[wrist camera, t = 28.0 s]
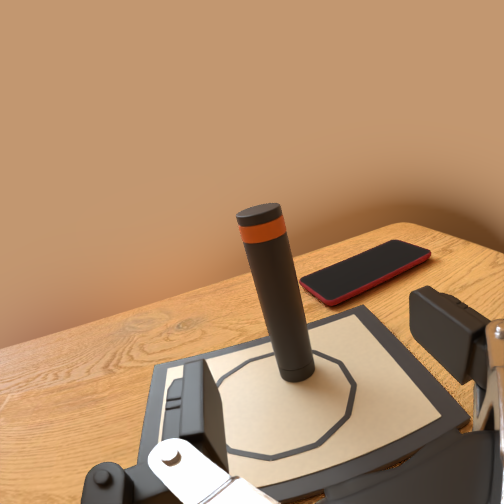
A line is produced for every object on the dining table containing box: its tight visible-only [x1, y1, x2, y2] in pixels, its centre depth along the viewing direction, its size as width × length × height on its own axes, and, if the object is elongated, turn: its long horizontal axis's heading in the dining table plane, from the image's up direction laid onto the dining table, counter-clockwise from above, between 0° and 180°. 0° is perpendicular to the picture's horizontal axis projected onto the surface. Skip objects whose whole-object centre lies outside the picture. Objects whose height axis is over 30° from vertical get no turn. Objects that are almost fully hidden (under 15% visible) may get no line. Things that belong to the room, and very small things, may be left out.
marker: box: [236, 203, 315, 383], centre depth 20 cm, size 3×3×12 cm
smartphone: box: [299, 240, 431, 306], centre depth 34 cm, size 7×1×15 cm
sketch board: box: [137, 305, 471, 504], centre depth 20 cm, size 20×16×1 cm
